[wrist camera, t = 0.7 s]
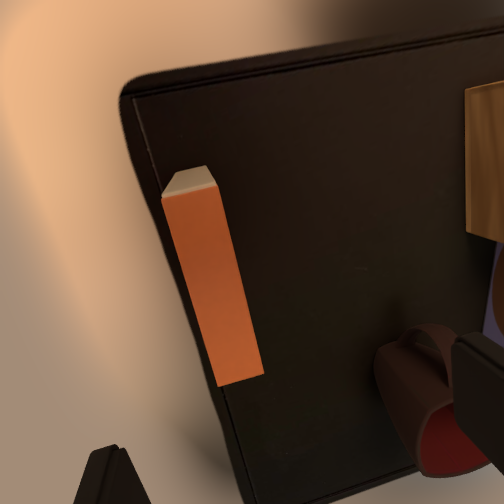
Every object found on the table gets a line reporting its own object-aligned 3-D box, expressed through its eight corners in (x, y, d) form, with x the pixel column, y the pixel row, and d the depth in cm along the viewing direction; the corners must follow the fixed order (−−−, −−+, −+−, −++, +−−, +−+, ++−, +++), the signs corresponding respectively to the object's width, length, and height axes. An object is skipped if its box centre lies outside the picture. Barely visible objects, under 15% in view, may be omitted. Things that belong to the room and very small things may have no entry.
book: (206, 164, 33) (217, 182, 18) (235, 279, 37) (264, 373, 22) (175, 172, 32) (159, 195, 17) (207, 286, 36) (218, 387, 21)
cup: (357, 400, 44) (414, 487, 33) (357, 304, 40) (421, 366, 29) (428, 385, 46) (505, 464, 34) (435, 290, 41) (526, 345, 30)
